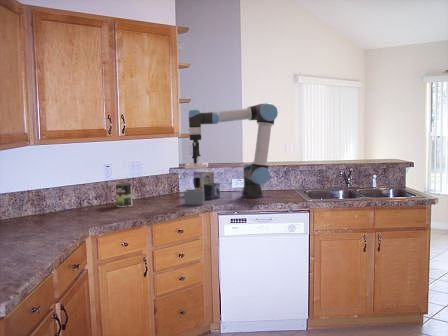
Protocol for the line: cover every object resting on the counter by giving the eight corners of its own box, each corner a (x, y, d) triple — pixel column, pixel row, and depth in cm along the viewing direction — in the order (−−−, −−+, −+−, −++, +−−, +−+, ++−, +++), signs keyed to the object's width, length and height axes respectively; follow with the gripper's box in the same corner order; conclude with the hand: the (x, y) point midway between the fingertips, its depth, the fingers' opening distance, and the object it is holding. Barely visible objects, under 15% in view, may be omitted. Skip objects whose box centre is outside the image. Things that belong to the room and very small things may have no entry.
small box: (211, 200, 328) (210, 184, 327) (203, 199, 332) (203, 184, 331) (220, 197, 336) (220, 183, 335) (213, 197, 340) (212, 182, 339)
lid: (208, 165, 318) (208, 161, 318) (206, 167, 306) (206, 163, 306) (187, 166, 319) (186, 162, 318) (184, 168, 307) (184, 164, 306)
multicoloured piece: (127, 207, 309) (126, 185, 308) (113, 206, 313) (112, 185, 311) (135, 204, 319) (134, 183, 317) (122, 204, 322) (121, 183, 321)
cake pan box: (193, 193, 358) (192, 170, 356) (198, 193, 361) (197, 169, 359) (210, 196, 344) (209, 171, 342) (215, 195, 347) (214, 171, 345)
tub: (204, 202, 319) (204, 189, 318) (203, 204, 311) (203, 191, 310) (186, 203, 319) (185, 189, 318) (185, 205, 311) (184, 191, 310)
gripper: (191, 133, 322) (193, 165, 325) (187, 134, 298) (188, 169, 301) (202, 133, 322) (204, 165, 324) (199, 134, 298) (200, 169, 300)
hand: (196, 167), depth 312 cm, fingers closed on lid, 12 cm apart
